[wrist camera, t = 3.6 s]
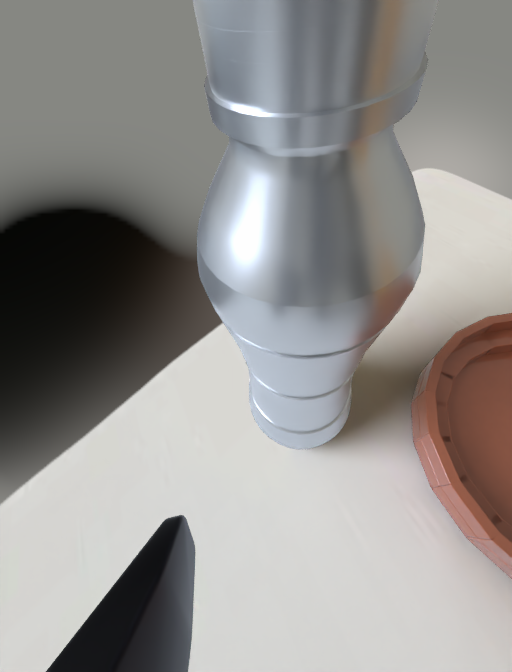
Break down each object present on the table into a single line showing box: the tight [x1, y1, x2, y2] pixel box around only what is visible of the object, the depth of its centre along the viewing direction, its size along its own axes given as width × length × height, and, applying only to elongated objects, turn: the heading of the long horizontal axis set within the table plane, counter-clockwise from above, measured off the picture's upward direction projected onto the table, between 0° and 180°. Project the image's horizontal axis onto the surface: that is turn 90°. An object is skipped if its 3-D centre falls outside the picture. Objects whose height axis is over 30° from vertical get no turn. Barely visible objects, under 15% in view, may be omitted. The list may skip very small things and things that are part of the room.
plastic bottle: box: [193, 0, 439, 449], centre depth 12 cm, size 6×7×20 cm
